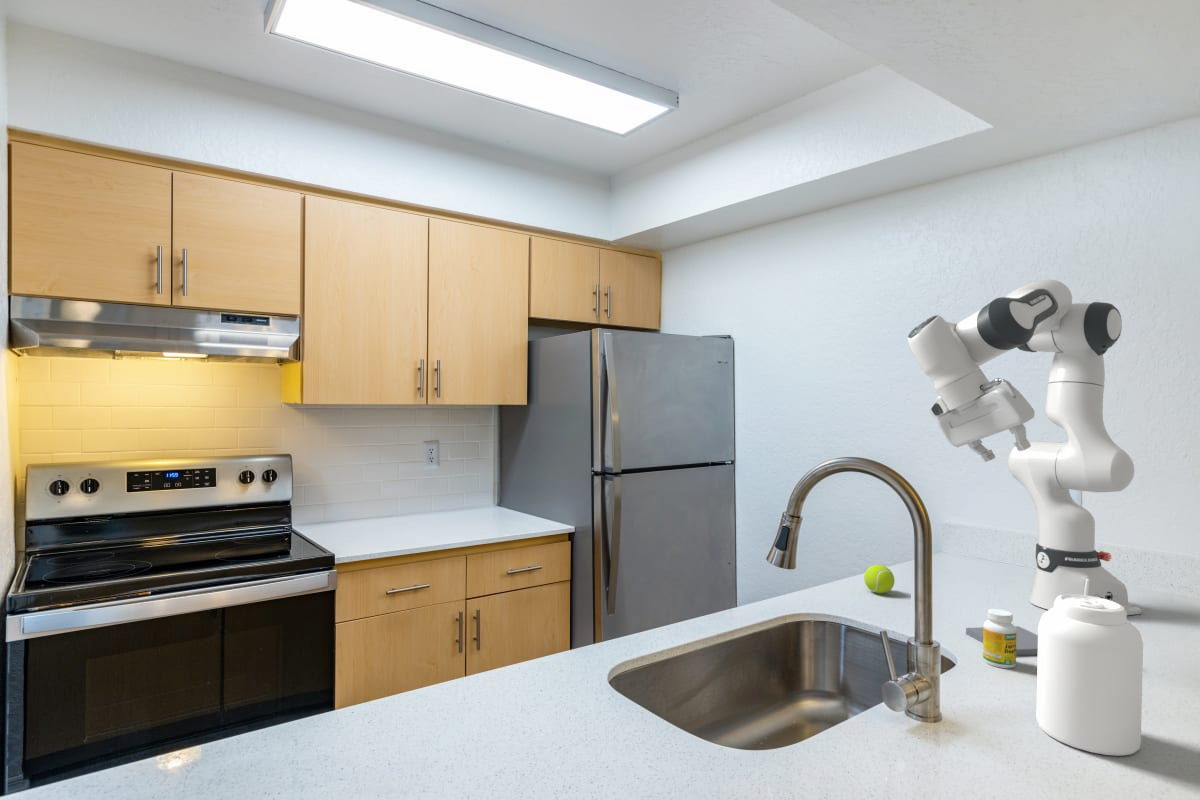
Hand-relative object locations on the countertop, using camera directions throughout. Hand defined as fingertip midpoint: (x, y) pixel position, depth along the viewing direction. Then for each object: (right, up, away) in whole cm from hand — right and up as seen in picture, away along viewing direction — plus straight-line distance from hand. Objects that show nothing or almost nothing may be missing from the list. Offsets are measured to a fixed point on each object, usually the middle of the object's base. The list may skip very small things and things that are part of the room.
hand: (1007, 454), depth 129 cm
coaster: (+5, -39, +7) cm, 40 cm away
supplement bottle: (-4, -39, -3) cm, 39 cm away
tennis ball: (-8, -38, +40) cm, 56 cm away
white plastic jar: (-6, -39, -30) cm, 50 cm away
